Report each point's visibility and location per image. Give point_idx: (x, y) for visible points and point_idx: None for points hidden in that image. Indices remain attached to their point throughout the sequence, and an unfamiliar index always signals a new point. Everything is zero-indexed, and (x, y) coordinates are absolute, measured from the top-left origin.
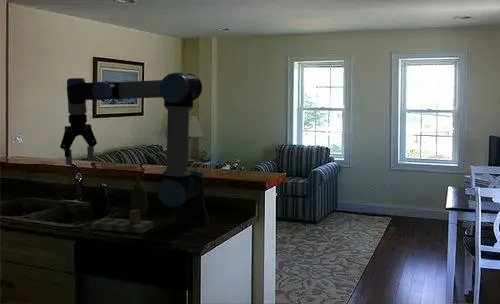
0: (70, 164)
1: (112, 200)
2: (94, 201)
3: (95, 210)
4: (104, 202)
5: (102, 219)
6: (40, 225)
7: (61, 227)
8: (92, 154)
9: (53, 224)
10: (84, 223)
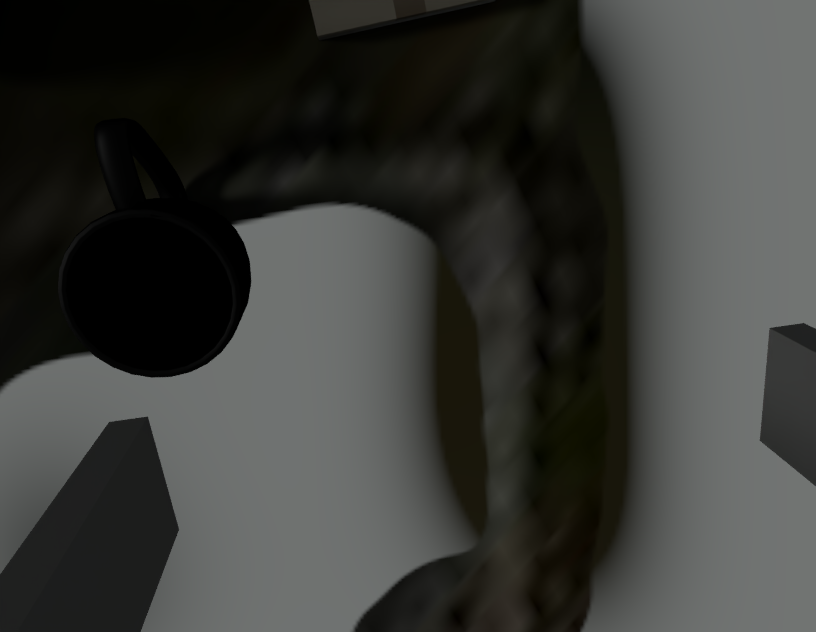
0: (808, 335)
1: (116, 119)
2: (238, 261)
3: (243, 243)
4: (164, 200)
5: (373, 6)
6: (570, 397)
7: (552, 240)
8: (88, 503)
9: (517, 350)
10: (400, 188)
